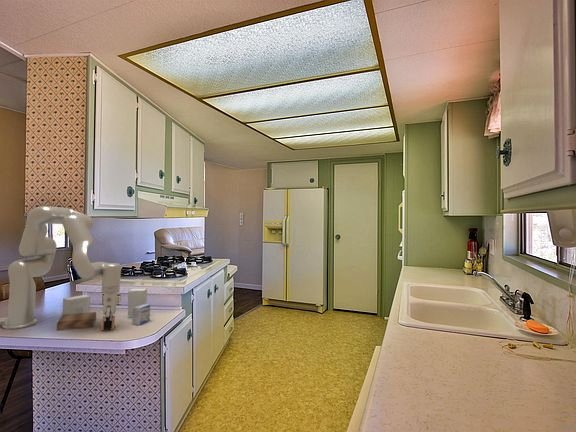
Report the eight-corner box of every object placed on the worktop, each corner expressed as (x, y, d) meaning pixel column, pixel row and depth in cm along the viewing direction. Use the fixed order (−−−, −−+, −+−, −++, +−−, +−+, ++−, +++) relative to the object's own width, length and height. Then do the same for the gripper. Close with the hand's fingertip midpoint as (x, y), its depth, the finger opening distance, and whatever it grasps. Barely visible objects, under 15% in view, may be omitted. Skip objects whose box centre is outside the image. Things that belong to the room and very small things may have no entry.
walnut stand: (56, 330, 135) (57, 321, 135) (62, 322, 146) (63, 314, 146) (92, 326, 142) (93, 318, 142) (95, 319, 152) (96, 311, 152)
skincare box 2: (146, 314, 164) (148, 287, 164) (143, 317, 158) (144, 290, 158) (130, 314, 162) (131, 287, 163) (126, 318, 156) (128, 290, 157)
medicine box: (139, 325, 146) (140, 308, 146) (131, 324, 147) (132, 307, 147) (149, 320, 154) (150, 304, 154) (142, 320, 155) (143, 303, 155)
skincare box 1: (83, 313, 162) (84, 294, 162) (89, 315, 159) (90, 296, 159) (61, 318, 153) (62, 298, 153) (67, 320, 150) (69, 299, 150)
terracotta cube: (101, 330, 137) (102, 319, 137) (102, 326, 141) (103, 316, 142) (113, 329, 139) (114, 318, 139) (114, 325, 144) (115, 315, 144)
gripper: (118, 292, 135) (115, 332, 134) (120, 285, 150) (118, 321, 150) (99, 293, 132) (96, 334, 131) (103, 286, 147) (100, 322, 146)
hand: (108, 326), depth 140 cm, fingers closed on terracotta cube, 5 cm apart
